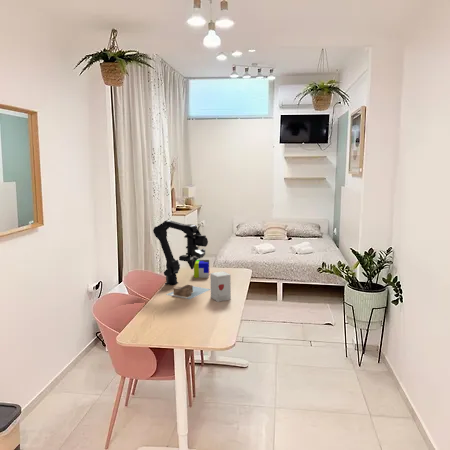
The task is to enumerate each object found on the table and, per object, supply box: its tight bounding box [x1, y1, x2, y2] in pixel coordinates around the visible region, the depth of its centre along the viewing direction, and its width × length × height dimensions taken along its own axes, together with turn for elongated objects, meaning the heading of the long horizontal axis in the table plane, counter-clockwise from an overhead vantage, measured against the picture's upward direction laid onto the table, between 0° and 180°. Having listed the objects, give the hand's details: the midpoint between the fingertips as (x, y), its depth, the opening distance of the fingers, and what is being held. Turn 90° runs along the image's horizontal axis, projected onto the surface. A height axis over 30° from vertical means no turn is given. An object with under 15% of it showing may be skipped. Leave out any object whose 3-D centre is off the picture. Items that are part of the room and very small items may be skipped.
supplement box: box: [209, 271, 232, 303], centre depth 250 cm, size 9×9×15 cm
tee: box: [172, 284, 194, 297], centre depth 261 cm, size 10×10×4 cm
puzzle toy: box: [193, 259, 210, 279], centre depth 302 cm, size 10×10×10 cm
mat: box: [166, 285, 211, 300], centre depth 265 cm, size 18×22×1 cm
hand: (192, 269), depth 274 cm, fingers closed
